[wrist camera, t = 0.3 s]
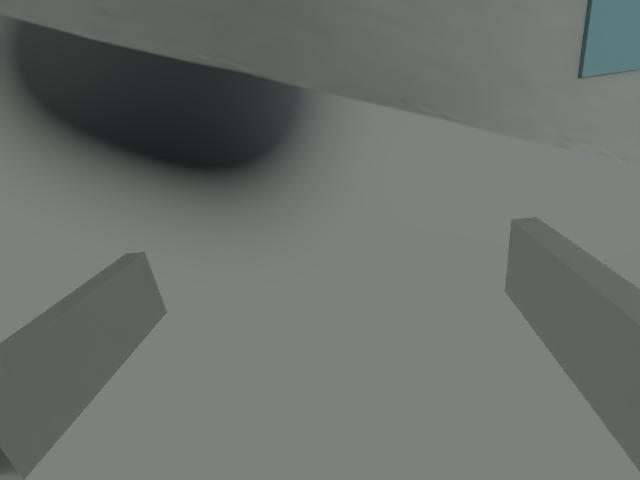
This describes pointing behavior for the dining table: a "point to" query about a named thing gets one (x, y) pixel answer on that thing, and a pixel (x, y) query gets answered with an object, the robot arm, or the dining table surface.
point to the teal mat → (611, 37)
